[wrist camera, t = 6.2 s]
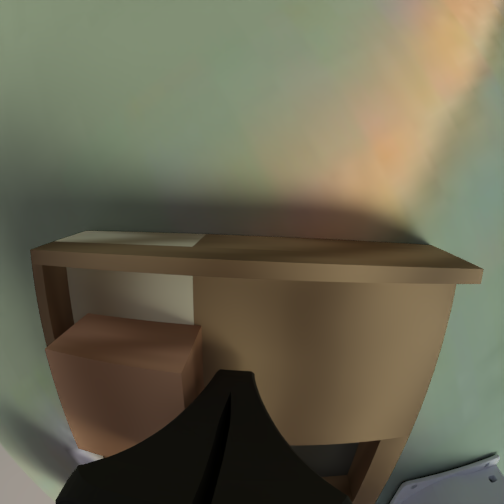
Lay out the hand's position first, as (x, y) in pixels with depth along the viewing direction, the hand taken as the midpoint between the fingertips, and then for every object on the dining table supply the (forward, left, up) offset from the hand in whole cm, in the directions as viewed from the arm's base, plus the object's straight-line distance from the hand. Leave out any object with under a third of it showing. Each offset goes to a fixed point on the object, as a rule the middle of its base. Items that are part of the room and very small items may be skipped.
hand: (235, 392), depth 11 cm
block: (+4, 0, -1) cm, 4 cm away
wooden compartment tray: (0, +2, -3) cm, 4 cm away
